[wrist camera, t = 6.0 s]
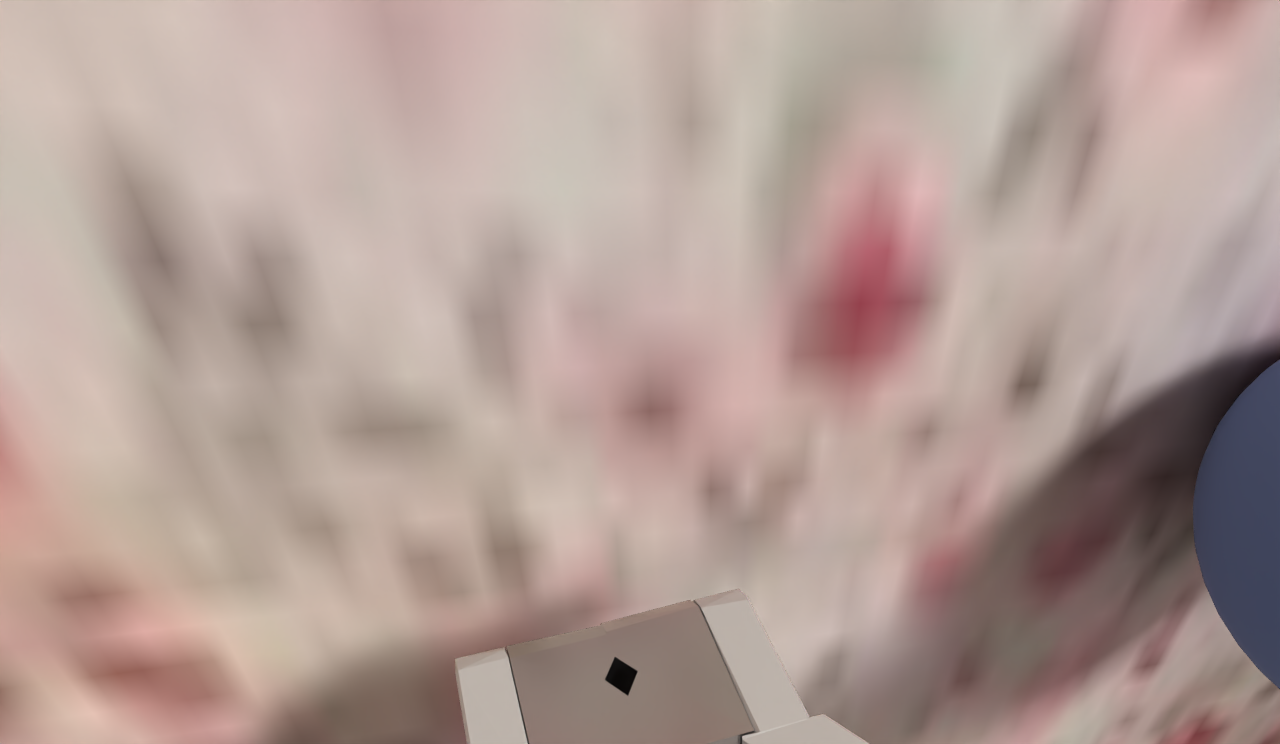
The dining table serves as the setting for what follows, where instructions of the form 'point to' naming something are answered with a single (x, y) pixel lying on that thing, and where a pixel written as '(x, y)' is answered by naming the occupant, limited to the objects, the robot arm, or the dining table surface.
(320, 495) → the dining table surface
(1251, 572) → the ball
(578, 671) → the robot arm
